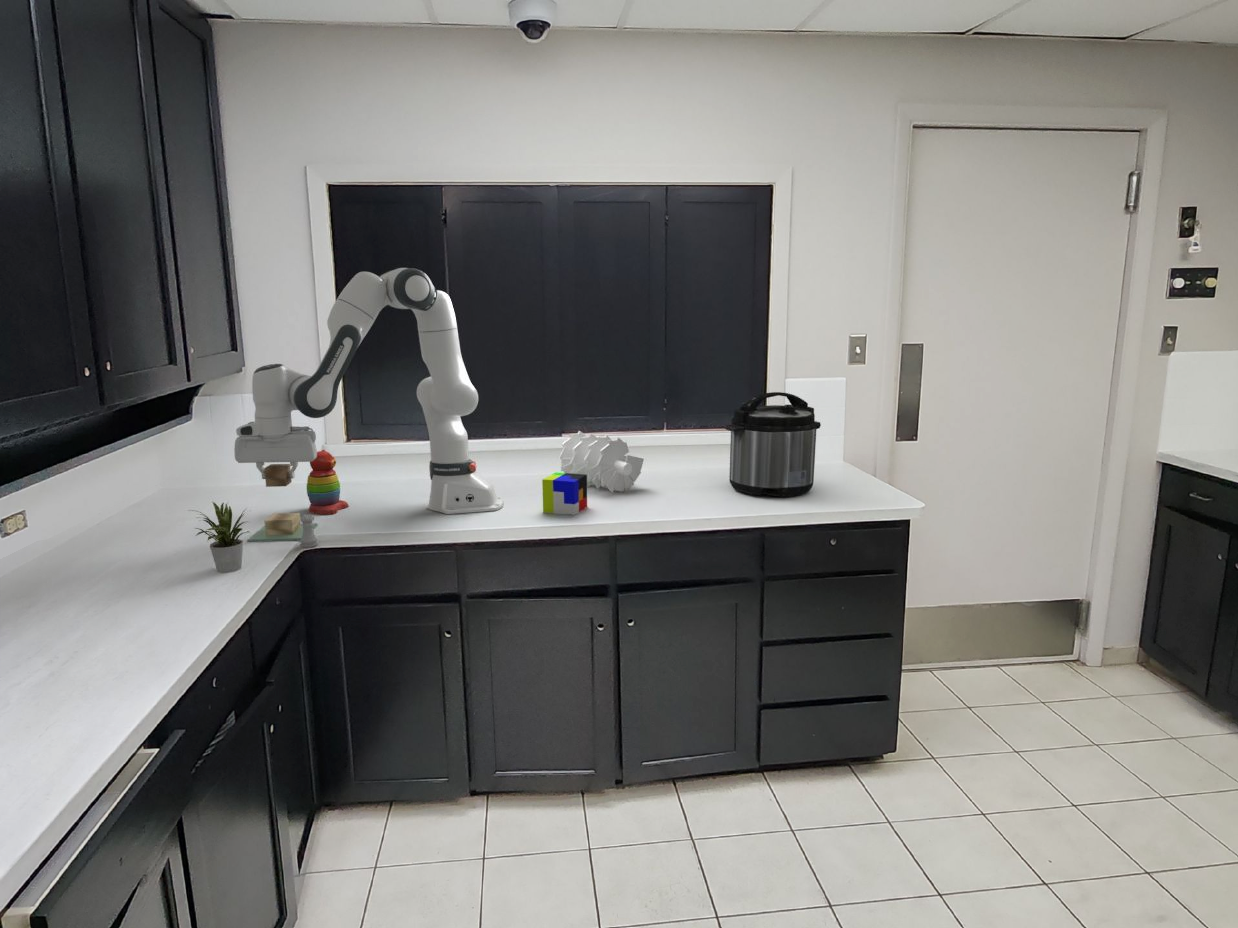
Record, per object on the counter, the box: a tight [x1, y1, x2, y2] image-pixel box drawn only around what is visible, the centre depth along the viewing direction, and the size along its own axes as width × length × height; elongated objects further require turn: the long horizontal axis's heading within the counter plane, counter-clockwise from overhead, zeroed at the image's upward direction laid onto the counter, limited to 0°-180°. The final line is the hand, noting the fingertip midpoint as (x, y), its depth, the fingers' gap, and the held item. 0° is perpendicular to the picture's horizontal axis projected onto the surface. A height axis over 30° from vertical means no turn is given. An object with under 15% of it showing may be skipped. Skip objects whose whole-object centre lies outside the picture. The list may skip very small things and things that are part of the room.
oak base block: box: [264, 512, 302, 535], centre depth 219 cm, size 7×7×4 cm
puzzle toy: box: [541, 471, 588, 516], centre depth 242 cm, size 10×10×10 cm
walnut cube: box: [264, 463, 293, 488], centre depth 217 cm, size 5×5×5 cm
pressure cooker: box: [724, 391, 822, 497], centre depth 264 cm, size 30×28×32 cm
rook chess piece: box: [299, 513, 319, 549], centre depth 208 cm, size 4×4×8 cm
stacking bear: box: [306, 449, 349, 516], centre depth 242 cm, size 11×10×18 cm
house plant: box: [187, 501, 252, 573], centre depth 191 cm, size 14×14×16 cm
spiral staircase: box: [558, 430, 645, 493], centre depth 268 cm, size 18×18×25 cm
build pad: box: [247, 522, 319, 543], centre depth 220 cm, size 14×14×1 cm
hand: (278, 478), depth 217 cm, fingers closed on walnut cube, 5 cm apart
